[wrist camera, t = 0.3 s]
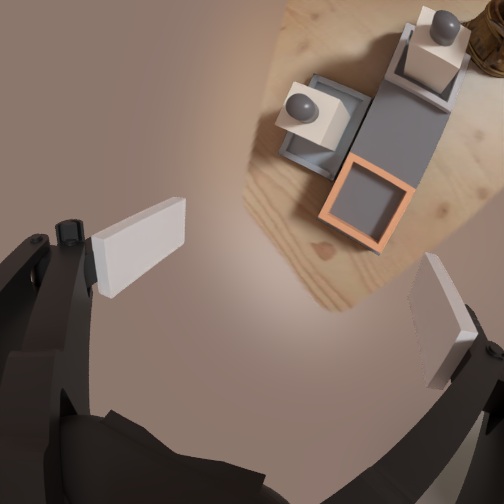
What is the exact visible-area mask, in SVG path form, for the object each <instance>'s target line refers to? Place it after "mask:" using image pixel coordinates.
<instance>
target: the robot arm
mask: <svg viewBox="0 0 504 504" xmlns="http://www.w3.org/2000/svg"><path fill="white" fill-rule="evenodd" d="M185 204H186V199H185V198H179V197H172V198H170V199H168V200H166V201H163V202H161V203H159V204H156V205H154V206H152V207H150V208H147V209H145V210H143V211H141V212H139V213H137V214H135V215H132V216H130V217H128V218H126V219H124V220H122V221H120V222H118V223H116V224H114V225H112V226H110V227H108V228H106V229H104V230H101V231H100V232H98V233H96V234H94V235H92V236H91V237H90V238H88V239H86V240H85V237H84V229H83V222H82V221H81V220H77V219H70V220H65V221H62V222H60V223H58V224H56V226H55V229H56V236H57V243H58V244H57V246H55V245H50V243H49V237H48V235H46V234H34V235H32V236H31V237H28V238H27V239H25V240H24V241H23V242H22V243H21V244H20V245H19V246H18V247H17V248H16V249H15V250H14V251H13V252H12V253H11V254H10V255H9V256H8V257H7V258H5V260H3V261H2V263H1V264H0V504H290V503H289V502H288V501H287V500H286V499H284V498H283V497H282V496H281V495H280V494H278V493H277V492H275V491H274V490H272V489H271V488H269V487H267V486H265V485H264V484H263V482H264V479H265V476H266V475H265V474H261V473H257V472H254V471H251V470H247V469H244V468H241V467H238V466H235V465H232V464H229V463H226V462H223V461H215V460H208V459H202V458H196V457H190V456H184V455H180V454H177V453H175V452H173V451H172V450H171V449H169V448H168V447H166V446H165V445H164V444H163V443H162V442H160V441H159V440H158V439H157V438H155V437H154V436H153V435H152V434H151V433H149V432H148V431H147V430H146V429H145V428H144V427H142V426H140V425H138V424H136V423H134V422H132V421H130V420H128V419H127V418H125V417H123V416H121V415H120V414H118V413H116V412H114V411H113V410H110V412H109V413H108V414H107V415H106V416H105V418H104V417H99V416H94V415H90V409H89V339H90V321H91V307H92V296H93V291H92V285H93V284H94V283H96V282H97V283H98V289H99V293H100V294H102V295H104V296H107V297H109V298H113V297H114V296H115V295H117V294H118V293H119V292H120V291H122V290H123V289H124V288H126V287H127V286H128V285H130V284H131V283H132V282H133V281H135V280H136V279H137V278H139V277H140V276H141V275H143V274H144V273H145V272H146V271H148V270H149V269H151V268H152V267H153V266H154V265H156V264H157V263H159V262H160V261H161V260H163V259H164V258H165V257H166V256H168V255H169V254H171V253H172V252H173V251H175V250H176V249H177V248H179V247H180V246H182V245H183V244H184V236H185ZM31 277H32V281H33V282H32V281H31ZM408 301H409V305H410V309H411V313H412V317H413V321H414V326H415V330H416V334H417V339H418V344H419V349H420V354H421V359H422V365H423V370H424V377H425V383H426V387H427V388H432V389H440V390H443V388H444V387H445V385H446V384H447V383H448V381H449V380H450V379H451V383H452V384H451V385H450V386H449V387H448V389H447V390H446V391H445V392H444V394H443V395H442V396H441V397H440V398H439V399H438V401H437V402H436V403H435V404H434V405H433V407H432V408H431V409H430V410H429V411H428V412H427V413H426V415H424V417H423V418H422V419H421V420H420V421H419V422H418V423H417V424H416V425H415V426H414V427H413V428H412V429H411V430H410V431H409V432H408V433H407V434H406V435H405V437H403V438H402V439H401V440H400V441H399V442H398V443H397V444H396V445H395V446H394V447H393V448H392V449H391V450H390V451H389V452H388V453H387V454H385V455H384V456H383V457H382V458H381V459H380V460H379V461H377V462H376V463H375V464H374V465H373V466H371V467H369V468H368V469H367V470H365V471H364V472H362V473H361V474H360V475H359V476H357V477H356V478H355V479H354V480H352V481H351V482H350V483H348V484H347V485H346V486H344V487H343V488H342V489H340V490H339V491H338V492H336V493H335V494H333V495H332V496H331V497H329V498H328V499H326V500H325V501H323V502H322V503H320V504H415V503H416V502H417V500H418V499H419V498H420V497H421V496H422V495H423V493H424V492H425V491H426V490H427V489H428V488H429V486H430V485H431V484H432V483H433V482H434V480H435V479H436V478H437V477H438V475H439V474H440V473H441V471H442V470H443V469H444V468H445V466H446V465H447V464H448V462H449V461H450V459H451V458H452V457H453V455H454V454H455V452H456V451H457V450H458V448H459V447H460V445H461V443H462V442H463V441H464V439H465V437H466V436H467V434H468V433H469V431H470V430H471V428H472V426H473V425H474V423H475V421H476V420H477V418H478V416H479V415H480V413H481V411H484V417H483V421H482V425H481V429H480V433H479V437H478V441H477V444H476V448H475V451H474V455H473V458H472V461H471V464H470V467H469V470H468V473H467V476H466V478H465V481H464V484H463V486H462V489H461V491H460V494H459V496H458V499H457V501H456V504H504V350H503V349H502V348H501V347H500V346H499V345H498V344H496V343H494V342H492V341H488V340H487V338H486V335H485V334H484V331H483V329H482V327H481V326H480V323H479V321H478V320H477V317H476V315H475V313H474V311H472V309H471V308H470V307H469V306H468V305H466V304H464V303H463V301H462V299H461V297H460V295H459V293H458V291H457V289H456V288H455V286H454V284H453V282H452V280H451V279H450V277H449V275H448V273H447V272H446V270H445V268H444V267H443V265H442V263H441V261H440V260H439V258H438V256H437V255H434V254H431V253H427V252H424V255H423V257H422V260H421V263H420V266H419V269H418V272H417V274H416V277H415V280H414V283H413V285H412V288H411V291H410V293H409V295H408Z"/></svg>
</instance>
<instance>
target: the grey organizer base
mask: <svg viewBox="0 0 504 504" xmlns="http://www.w3.org/2000/svg"><path fill="white" fill-rule="evenodd" d="M415 27H416V26H414V25H412V24H409V23H406V25H405V27H404V30H403V32H402V35H401V37H400V40H399V42H398V45H397V47H396V49H395V52H394V54H393V57H392V59H391V61H390V64H389V66H388V68H387V71H386V73H385V75H384V78H383V80H382V82H381V85H380V87H379V89H378V91H377V94H376V96H375V98H374V100H373V103H372V105H371V107H370V109H369V111H368V114H367V116H366V118H365V120H364V122H363V124H362V127H361V129H360V131H359V133H358V135H357V137H356V140H355V142H354V144H353V146H352V148H351V150H350V152H349V154H348V156H347V158H346V161H345V163H344V165H343V167H342V169H341V171H340V173H339V175H338V177H337V179H336V181H335V183H334V185H333V187H332V189H331V191H330V193H329V195H328V197H327V199H326V201H325V203H324V205H323V207H322V209H321V211H320V213H319V215H318V217H317V220H319V221H321V222H322V223H324V224H326V225H328V226H329V227H331V228H333V229H335V230H336V231H338V232H340V233H342V234H343V235H345V236H347V237H348V238H350V239H352V240H353V241H355V242H357V243H359V244H360V245H362V246H364V247H365V248H367V249H369V250H370V251H372V252H374V253H375V254H377V255H378V256H379V255H380V253H381V252H382V250H383V248H384V247H385V245H386V243H387V242H388V240H389V238H390V236H391V235H392V233H393V231H394V229H395V228H396V226H397V224H398V222H399V220H400V219H401V217H402V215H403V213H404V211H405V209H406V208H407V206H408V204H409V202H410V200H411V198H412V196H413V194H414V192H415V190H416V188H417V186H418V184H419V182H420V180H421V178H422V176H423V174H424V172H425V170H426V168H427V166H428V164H429V162H430V160H431V157H432V155H433V153H434V151H435V149H436V146H437V144H438V142H439V140H440V137H441V135H442V133H443V130H444V128H445V126H446V123H447V121H448V118H449V116H450V114H451V111H452V109H453V106H454V104H455V101H456V98H457V96H458V93H459V90H460V87H461V85H462V82H463V79H464V76H465V73H466V70H467V67H468V64H469V61H470V58H471V56H470V55H468V54H467V53H465V54H464V57H463V60H462V63H461V66H460V69H459V70H458V72H457V73H456V74H455V76H454V77H453V78H452V80H451V81H450V82H449V84H448V85H447V86H446V88H445V89H444V90H443V92H442V93H441V94H439V93H437V92H436V91H434V90H432V89H430V88H429V87H427V86H425V85H423V84H421V83H420V82H418V81H416V80H414V79H412V78H410V77H408V76H406V75H404V74H403V73H404V68H405V63H406V58H407V53H408V47H409V42H410V39H411V37H412V34H413V32H414V29H415Z"/></svg>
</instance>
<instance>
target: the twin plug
mask: <svg viewBox="0 0 504 504" xmlns="http://www.w3.org/2000/svg"><path fill="white" fill-rule="evenodd" d="M470 34H471V30H469V29H467V28H466V27H464V26H462V25H460V22H459V20H458V19H457V18H456V17H455V16H454V15H453V14H452V13H450V12H448V11H443V10H440V11H437V12H436V11H433V10H431V9H429V8H427V7H425V6H423V8H422V11H421V13H420V16H419V19H418V21H417V24H416V27H415V29H414V32H413V34H412V37H411V39H410V42H409V47H408V53H407V58H406V63H405V68H404V73H403V74H404V75H406V76H408V77H410V78H412V79H414V80H416V81H418V82H420V83H421V84H423V85H425V86H427V87H429V88H430V89H432V90H434V91H436V92H437V93H439V94H441V93H442V92H443V90H444V89H445V88H446V86H447V85H448V84H449V82H450V81H451V80H452V78H453V77H454V76H455V74H456V73H457V72H458V70H459V69H460V66H461V63H462V60H463V57H464V54H465V51H466V48H467V45H468V41H469V38H470Z"/></svg>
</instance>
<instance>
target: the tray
mask: <svg viewBox="0 0 504 504" xmlns="http://www.w3.org/2000/svg"><path fill="white" fill-rule="evenodd" d="M308 87H311V88H313V89H316V90H318V91H321V92H323V93H326V94H328V95H330V96H333V97H335V98H337V99H340V100H341V102H342V103H343V105H344V107H345V108H346V110H347V112H348V114H349V115H350V117H351V118H350V120H349V122H348V124H347V126H346V129H345V131H344V133H343V135H342V137H341V139H340V141H339V144H338V146H337V148H336V150H335V151H333V150H330V149H328V148H326V147H323V146H321V145H318V144H316V143H314V142H312V141H310V140H308V139H306V138H304V137H301V136H299V135H297V134H295V133H292V132H290V131H288V132H287V134H286V136H285V139H284V141H283V143H282V145H281V148H280V150H279V152H278V154H280V155H282V156H284V157H286V158H288V159H290V160H292V161H295V162H297V163H299V164H301V165H303V166H305V167H307V168H309V169H311V170H313V171H315V172H316V173H318V174H320V175H322V176H324V177H326V178H328V179H330V180H332V181H334V180H335V178H336V176H337V174H338V172H339V170H340V168H341V166H342V164H343V162H344V160H345V158H346V155H347V153H348V151H349V149H350V147H351V145H352V143H353V141H354V139H355V136H356V134H357V132H358V130H359V128H360V126H361V124H362V121H363V119H364V117H365V115H366V113H367V110H368V108H369V106H370V104H371V102H372V98H371V97H369V96H367V95H364V94H362V93H360V92H358V91H356V90H353V89H351V88H349V87H346V86H344V85H342V84H339V83H337V82H334V81H332V80H329V79H327V78H324V77H322V76H319V75H316V74H314V75H313V77H312V79H311V81H310V83H309V86H308Z"/></svg>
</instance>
